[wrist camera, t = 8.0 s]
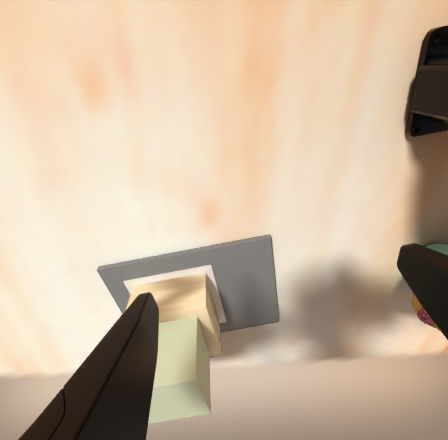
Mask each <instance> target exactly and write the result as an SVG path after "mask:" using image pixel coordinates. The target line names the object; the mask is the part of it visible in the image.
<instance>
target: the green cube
mask: <svg viewBox="0 0 448 440" xmlns="http://www.w3.org/2000/svg"><path fill="white" fill-rule="evenodd" d="M209 413H211V405H210V364H209V349H208V346H207V343H206V340H205V338H204V335H203V332H202V329H201V326H200V324H199V321H198V318H197V317H192V318H186V319H180V320H175V321H169V322H164V323H159V334H158V356H157V364H156V371H155V378H154V385H153V392H152V399H151V406H150V414H149V421H148V424H150V423H155V422H162V421H168V420H174V419H179V418H186V417H192V416H197V415H203V414H209Z"/></svg>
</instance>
